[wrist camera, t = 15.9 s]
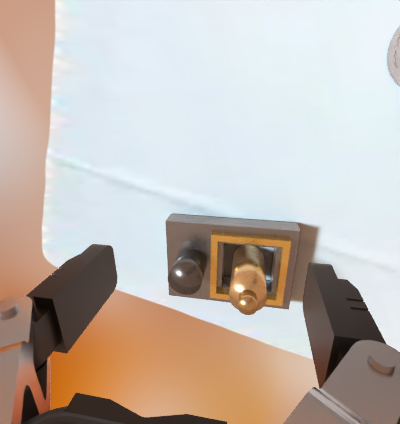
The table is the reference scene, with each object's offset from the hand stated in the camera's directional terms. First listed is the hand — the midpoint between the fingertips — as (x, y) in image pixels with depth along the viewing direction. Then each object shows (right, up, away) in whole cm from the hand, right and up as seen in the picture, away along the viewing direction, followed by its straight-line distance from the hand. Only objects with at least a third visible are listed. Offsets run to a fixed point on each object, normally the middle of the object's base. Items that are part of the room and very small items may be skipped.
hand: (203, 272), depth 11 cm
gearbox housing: (+5, -5, +36) cm, 36 cm away
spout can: (+8, -5, +35) cm, 36 cm away
